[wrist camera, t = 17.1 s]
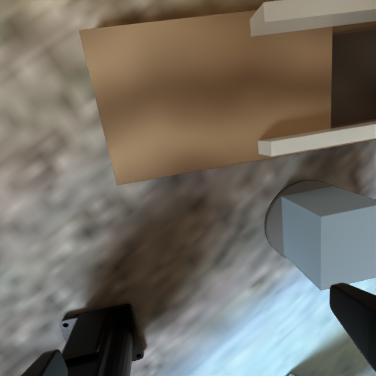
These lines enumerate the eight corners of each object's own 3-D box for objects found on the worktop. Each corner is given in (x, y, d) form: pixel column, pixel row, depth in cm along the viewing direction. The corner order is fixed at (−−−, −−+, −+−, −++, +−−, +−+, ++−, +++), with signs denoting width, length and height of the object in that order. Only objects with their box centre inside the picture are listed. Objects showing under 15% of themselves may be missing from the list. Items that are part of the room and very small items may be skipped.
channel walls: (419, 125, 18) (450, 125, 16) (258, 153, 17) (271, 156, 15) (435, -3, 16) (473, -21, 14) (249, 19, 15) (263, 2, 13)
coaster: (340, 248, 23) (345, 251, 22) (267, 264, 22) (270, 268, 21) (343, 173, 21) (348, 174, 20) (262, 188, 20) (265, 190, 19)
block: (332, 186, 20) (387, 203, 15) (331, 244, 22) (381, 276, 17) (281, 196, 20) (320, 216, 15) (284, 254, 21) (320, 290, 16)
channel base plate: (394, 132, 20) (418, 132, 18) (121, 179, 18) (116, 185, 16) (405, 5, 18) (436, -11, 16) (88, 43, 15) (78, 30, 13)
